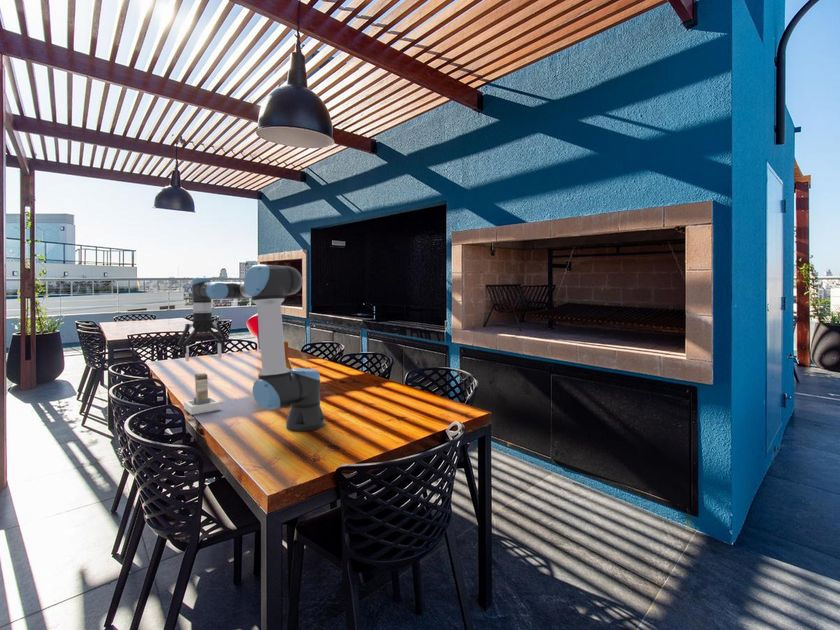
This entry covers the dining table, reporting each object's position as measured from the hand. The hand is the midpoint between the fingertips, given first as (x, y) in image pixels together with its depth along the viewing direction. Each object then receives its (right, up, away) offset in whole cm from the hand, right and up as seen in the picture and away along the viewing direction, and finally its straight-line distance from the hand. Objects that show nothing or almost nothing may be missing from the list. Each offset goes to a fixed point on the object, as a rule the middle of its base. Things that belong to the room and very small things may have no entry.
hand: (203, 359), depth 192 cm
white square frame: (-2, -23, +2) cm, 23 cm away
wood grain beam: (-2, -21, +2) cm, 21 cm away
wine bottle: (+32, -23, +13) cm, 42 cm away
